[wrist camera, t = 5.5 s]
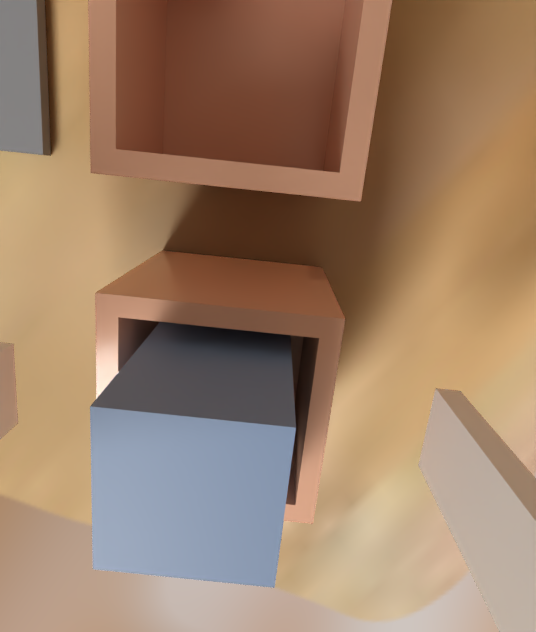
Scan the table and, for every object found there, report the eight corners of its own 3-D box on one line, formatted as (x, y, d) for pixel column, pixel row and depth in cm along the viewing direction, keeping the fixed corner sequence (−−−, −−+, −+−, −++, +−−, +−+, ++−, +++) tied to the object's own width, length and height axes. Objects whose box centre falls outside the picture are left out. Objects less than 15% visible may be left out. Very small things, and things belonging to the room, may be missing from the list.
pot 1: (162, 173, 18) (90, 173, 11) (169, -23, 16) (85, -171, 9) (330, 191, 18) (360, 201, 11) (356, -4, 16) (413, -136, 9)
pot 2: (157, 394, 20) (97, 501, 14) (162, 250, 18) (95, 293, 12) (302, 409, 20) (312, 523, 14) (322, 267, 19) (345, 318, 12)
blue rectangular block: (174, 398, 18) (92, 569, 10) (178, 299, 16) (89, 406, 9) (277, 409, 18) (274, 587, 10) (288, 310, 16) (295, 427, 9)
